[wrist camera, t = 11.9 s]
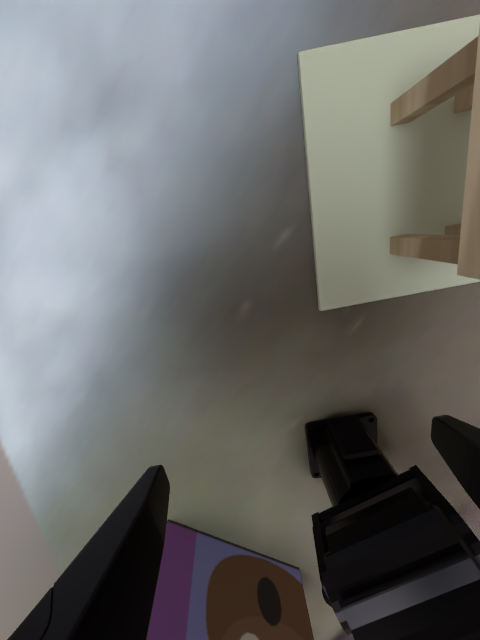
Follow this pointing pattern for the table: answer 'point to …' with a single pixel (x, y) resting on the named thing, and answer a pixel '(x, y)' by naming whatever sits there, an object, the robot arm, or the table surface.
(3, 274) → the table surface
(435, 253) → the beige wooden bench
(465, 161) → the mat
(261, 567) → the cereal box
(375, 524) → the robot arm
